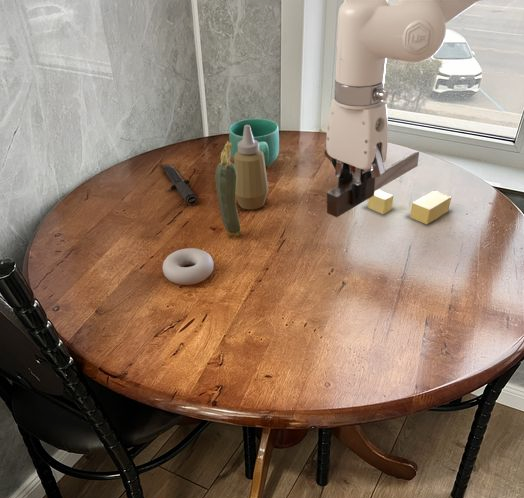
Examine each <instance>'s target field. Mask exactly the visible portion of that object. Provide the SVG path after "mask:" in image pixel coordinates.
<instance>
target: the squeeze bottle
mask: <svg viewBox="0 0 524 498" xmlns="http://www.w3.org/2000/svg"><path fill="white" fill-rule="evenodd" d="M233 164H234V165H235V167H236V171H237V182H236V192H235V199H236V200H237V203H238V205H239V207H240V208H242V209H245V210H250V211H251V210H257V209H260V208H262V207H263V206H264V204H265V202H266V199H267V196H268V193H269V182H268V175H267V169H266V167H267V166H266V167H265V160H264V154H263V152H262V151H260V150H259V142H258V141H257V140H254V139H253V135H252V132H251V128H250V125H245V126H244V132H243V139H242V140H241V141H239V142H238V151H237V152H236V153H235V155H234V160H233Z"/></svg>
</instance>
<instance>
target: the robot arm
mask: <svg viewBox="0 0 524 498" xmlns="http://www.w3.org/2000/svg"><path fill="white" fill-rule="evenodd" d="M481 1H482V0H397V1H396V3H395V4H394V5H390V3H389V2H388V1H387V0H345V1H344V2H343V3H341V5H340V7H339V9H338V12H337V27H336V28H337V29H336V30H337V31H336V49H335V50H336V52H335V76H334V77H335V79H334V95H333V98H332V99H331V103H330V106H329V107H330V108H329V113H328V118H327V124H326V125H327V126H326V139H325V150H324V156H325V157H326V158H327V160H329V162H331V165H332V167H333V168H334V170H335V171H334V174H335V176H336V177H337V187H338V186H340V185H342V184H344V183H345V182H347V181H349V180H351V179H353V178H354V177H355V183H353V184H352V187H351V202H350V203H351V205H353V206H354V205H356V204H358V203H360V202H362V201H364V199H365V195H366V184H367V181H369V180H370V179H371V178H375V177H380V176H381V175H383V174H385V170H384V169H385V167H384V163H385V162H386V160H387V156H388V155H387V154H388V143H389V141H388V139H389V116H388V114H389V113H388V107H387V102H385V101H386V100H387V99H388V96H389V92H388V91H387V90H385V89H384V87H385V76H386V67H387V60H388V59H389V60H392V61H393V60H394V61H399V62H402V63H403V62H404V63H411V64H412V63H413V64H415V63H416V64H417V63H421V62H425V61H427V60H429V59H431V58H432V57H434V56H435V55H436V54H437V53H438V52H439V50H440V49H441V47H442V46H443V44H444V42H445V39H446V33H447V24H448V23H450V22H451V21H452V20H455V18H456V17H458V16H460V15H461V14H462V13H463V12H465V11H467V10H468V9H470V8H471V7H473V6H474V5H476V4H478V3H479V2H481ZM371 164H372V165H371ZM351 165H352V166H354V167H355V171H354V174H353V173H352V172H351V171H352V170H351ZM362 173H363V174H362ZM364 202H365V201H364ZM362 203H363V202H362ZM360 204H361V203H360Z"/></svg>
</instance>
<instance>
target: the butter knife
mask: <svg viewBox="0 0 524 498" xmlns="http://www.w3.org/2000/svg"><path fill="white" fill-rule="evenodd" d="M419 156H420V151H419V150H415V151H413V152H411V153H410V154H409V155H407V156H405V157H403V158H401V159H399V160H398V161H396V162H394V163H391V165H389V166H387V167H384V170H385V174H383V175H381V176H380V177H375V178H371V179H370V180H369V181H367V184H366V195H365V199H364V201H362V202H360V203H358V204H356V205H354V206H353V205H351V203H350V202H351V187H352V184H353V183H355V176H353V179H351V180H349V181H347V182H345V183H344V184H342V185H340V186H338V185H337V186H336V187H335V188H333V189H331V190H329V191H327V192H326V213H327V214H328V215H331V216H333V218H339V217H340V216H341V215H344V214H345V213H347V212H349V211H350V210H352V209H353V208H355V207H357V206H359V205H361V204H362V203H364V202H366V201H368V199H369V198H371V197H372V196H374V191H376V190H378V189H379V190H380V189H381V188H383V187H384V186H386V185H388V184H389V183H391V182H393V181H395V180H397V179H398V178H400V177H401V176H403V175H405V174H407V173H408V172H410V171H411V170H413V169H414V168H417V167H418V166H419ZM362 174H363V172H362Z"/></svg>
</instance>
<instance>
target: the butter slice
mask: <svg viewBox="0 0 524 498" xmlns="http://www.w3.org/2000/svg"><path fill="white" fill-rule="evenodd" d="M393 202H394V195H393V194H391V193H389V192H386V191H384V190H381V189H380V188H379V189H378V190H376V191H374V196H372V197H371V198H369V199H367V208H368V209H370V210H371V211H373V212H377V213H379V214H381V215H385V214H386V213H388V212H391V211H392V210H393Z"/></svg>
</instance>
